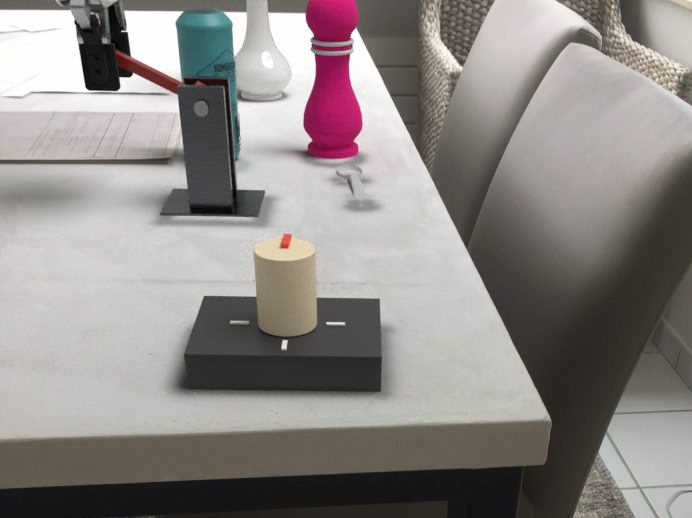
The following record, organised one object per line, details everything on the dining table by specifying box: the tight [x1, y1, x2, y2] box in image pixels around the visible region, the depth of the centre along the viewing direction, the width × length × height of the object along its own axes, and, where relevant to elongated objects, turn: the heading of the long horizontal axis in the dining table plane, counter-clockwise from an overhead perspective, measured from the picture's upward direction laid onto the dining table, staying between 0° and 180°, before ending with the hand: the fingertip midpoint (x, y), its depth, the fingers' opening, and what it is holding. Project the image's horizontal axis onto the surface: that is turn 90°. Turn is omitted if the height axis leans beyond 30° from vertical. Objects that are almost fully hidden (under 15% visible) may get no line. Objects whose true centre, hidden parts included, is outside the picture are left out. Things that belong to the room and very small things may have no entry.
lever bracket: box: [159, 76, 266, 218], centre depth 91 cm, size 10×8×13 cm
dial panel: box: [183, 295, 383, 393], centre depth 68 cm, size 14×10×3 cm
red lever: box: [110, 39, 205, 96], centre depth 87 cm, size 12×5×2 cm, turn 91°
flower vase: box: [234, 0, 293, 102], centre depth 129 cm, size 13×18×25 cm
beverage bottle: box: [174, 7, 242, 159], centre depth 101 cm, size 6×7×20 cm
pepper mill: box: [302, 0, 364, 160], centre depth 105 cm, size 7×7×20 cm
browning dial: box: [253, 233, 318, 337], centre depth 65 cm, size 4×4×6 cm
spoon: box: [336, 163, 369, 199], centre depth 101 cm, size 3×12×2 cm, turn 10°
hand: (110, 81), depth 87 cm, fingers closed on red lever, 5 cm apart
